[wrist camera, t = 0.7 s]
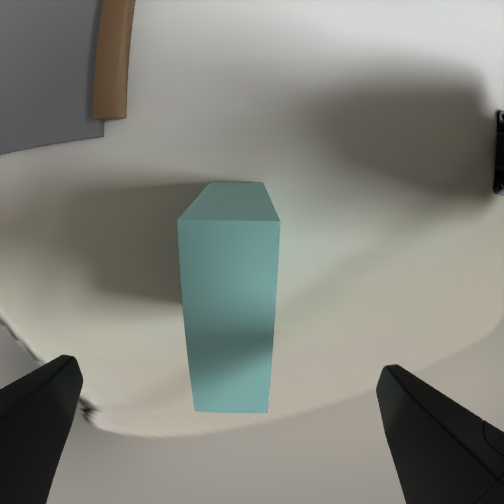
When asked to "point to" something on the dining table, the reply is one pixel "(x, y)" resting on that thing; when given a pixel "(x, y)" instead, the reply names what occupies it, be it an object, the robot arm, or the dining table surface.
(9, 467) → the robot arm
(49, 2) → the mat
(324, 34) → the dining table surface
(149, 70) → the dining table surface
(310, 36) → the dining table surface
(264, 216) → the slab
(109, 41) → the wooden block
